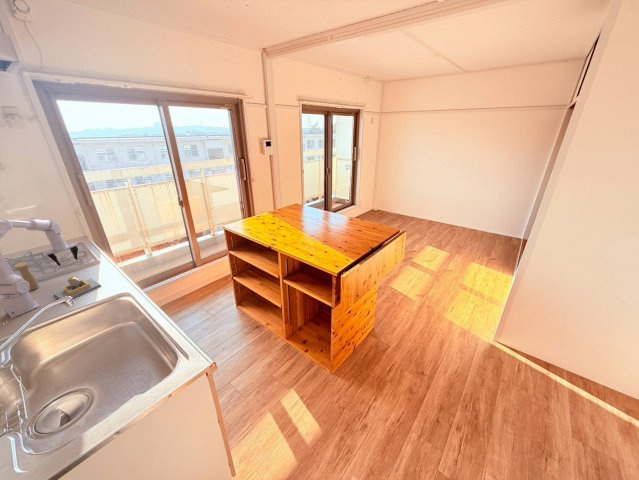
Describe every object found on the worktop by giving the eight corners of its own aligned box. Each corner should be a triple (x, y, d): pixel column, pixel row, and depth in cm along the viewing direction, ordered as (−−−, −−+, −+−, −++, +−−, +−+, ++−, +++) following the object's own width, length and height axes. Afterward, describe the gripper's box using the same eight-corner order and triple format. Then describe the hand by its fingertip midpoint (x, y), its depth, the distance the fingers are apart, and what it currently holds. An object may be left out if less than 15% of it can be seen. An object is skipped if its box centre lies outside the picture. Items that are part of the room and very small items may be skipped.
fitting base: (63, 302, 126) (60, 297, 124) (54, 295, 131) (51, 290, 130) (101, 286, 138) (98, 281, 137) (91, 280, 144) (89, 275, 142)
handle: (30, 292, 134) (15, 268, 127) (27, 288, 137) (13, 264, 131) (42, 288, 137) (28, 264, 131) (39, 284, 141) (26, 261, 134)
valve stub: (74, 291, 132) (68, 281, 129) (71, 289, 134) (65, 278, 131) (83, 287, 135) (78, 277, 132) (80, 285, 137) (75, 275, 134)
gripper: (71, 234, 146) (80, 255, 151) (36, 244, 134) (48, 266, 140) (76, 237, 142) (85, 258, 148) (41, 247, 131) (53, 269, 137)
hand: (68, 262), depth 144 cm, fingers open, 7 cm apart
